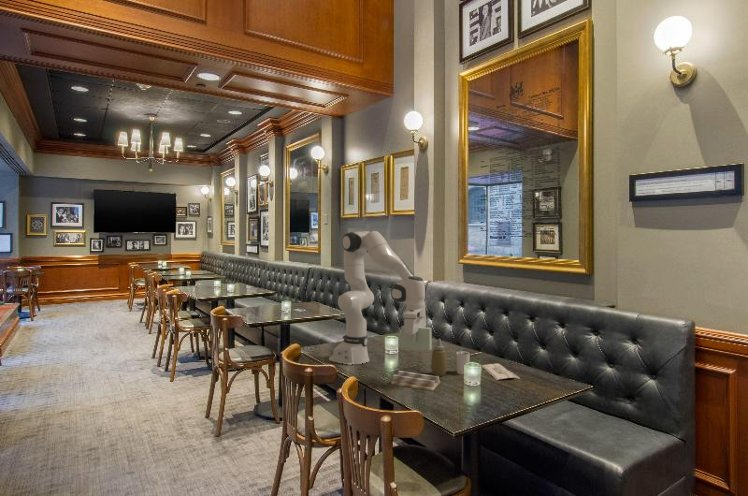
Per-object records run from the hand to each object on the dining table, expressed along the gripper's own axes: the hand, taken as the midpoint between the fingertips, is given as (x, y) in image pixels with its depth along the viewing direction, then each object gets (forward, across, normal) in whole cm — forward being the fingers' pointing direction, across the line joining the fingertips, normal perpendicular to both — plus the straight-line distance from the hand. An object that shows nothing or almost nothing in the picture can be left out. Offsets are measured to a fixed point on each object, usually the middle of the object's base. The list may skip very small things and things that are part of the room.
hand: (416, 340), depth 207 cm
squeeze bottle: (+20, -16, +6) cm, 26 cm away
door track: (+20, +1, 0) cm, 20 cm away
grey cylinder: (+20, -24, +16) cm, 35 cm away
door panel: (+4, 0, 0) cm, 4 cm away
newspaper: (+21, -32, +33) cm, 51 cm away
